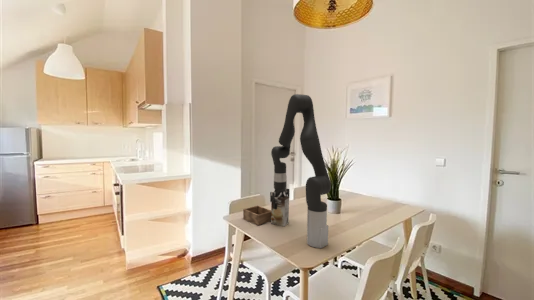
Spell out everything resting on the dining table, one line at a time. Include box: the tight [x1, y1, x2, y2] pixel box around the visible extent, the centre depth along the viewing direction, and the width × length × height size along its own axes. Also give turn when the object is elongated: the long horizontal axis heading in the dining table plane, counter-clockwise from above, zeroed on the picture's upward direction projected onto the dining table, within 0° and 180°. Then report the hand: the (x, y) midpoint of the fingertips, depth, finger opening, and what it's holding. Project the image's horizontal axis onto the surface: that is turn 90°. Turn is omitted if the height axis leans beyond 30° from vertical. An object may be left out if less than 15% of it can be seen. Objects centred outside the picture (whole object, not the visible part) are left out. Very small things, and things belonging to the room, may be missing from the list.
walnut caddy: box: [242, 205, 271, 226], centre depth 149 cm, size 15×12×6 cm
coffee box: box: [270, 196, 290, 227], centre depth 143 cm, size 9×6×16 cm
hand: (279, 207), depth 143 cm, fingers closed on coffee box, 7 cm apart
